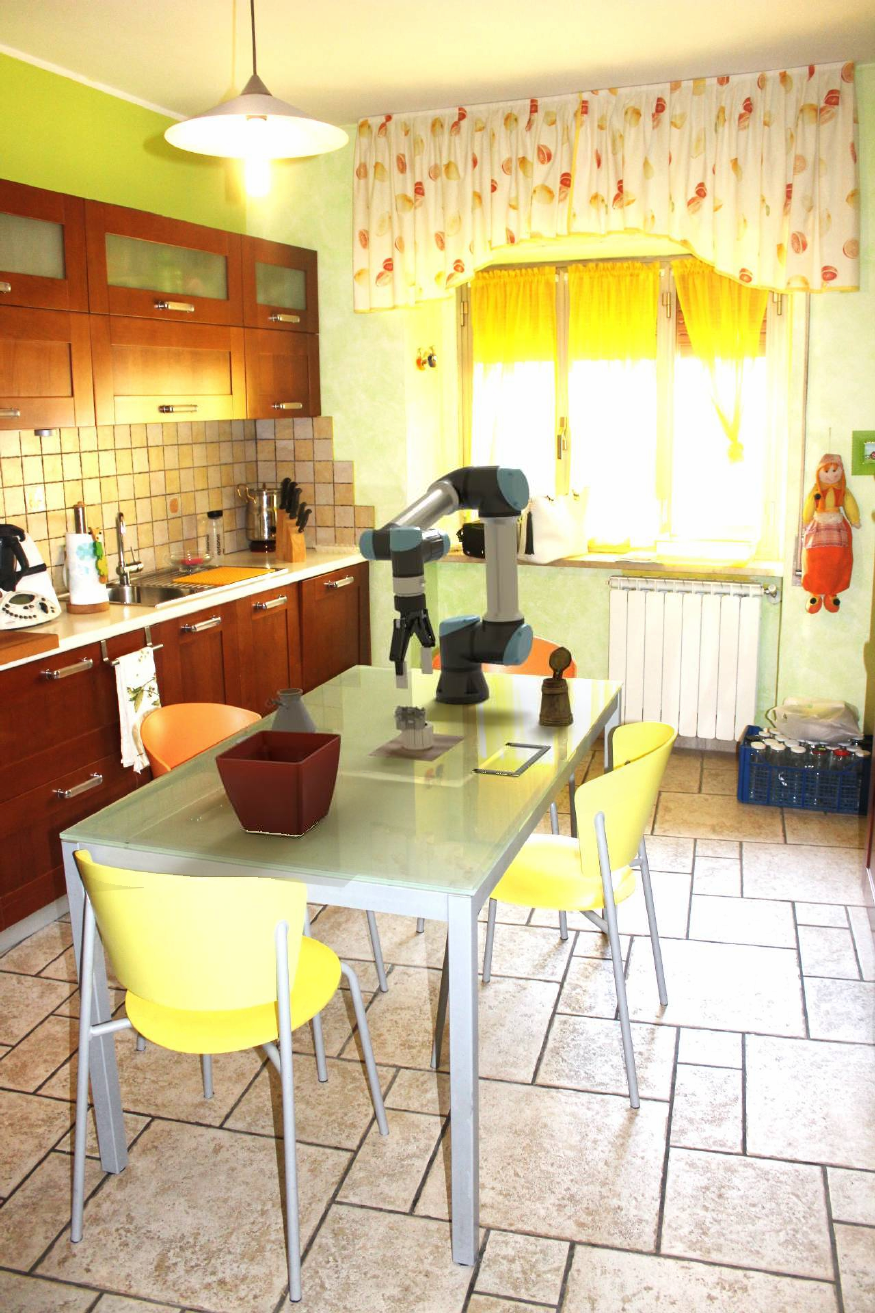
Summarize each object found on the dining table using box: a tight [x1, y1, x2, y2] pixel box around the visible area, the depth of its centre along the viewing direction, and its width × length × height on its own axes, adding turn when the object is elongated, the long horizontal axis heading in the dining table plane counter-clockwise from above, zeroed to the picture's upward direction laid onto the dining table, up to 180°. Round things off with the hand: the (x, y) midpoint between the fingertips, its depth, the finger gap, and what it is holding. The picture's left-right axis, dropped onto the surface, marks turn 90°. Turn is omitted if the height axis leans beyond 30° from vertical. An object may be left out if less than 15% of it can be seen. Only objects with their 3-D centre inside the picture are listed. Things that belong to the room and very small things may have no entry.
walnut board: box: [367, 733, 467, 762], centre depth 268 cm, size 20×17×1 cm
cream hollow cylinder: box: [401, 720, 434, 750], centre depth 267 cm, size 8×8×5 cm
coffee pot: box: [264, 687, 317, 733], centre depth 275 cm, size 21×12×15 cm, turn 169°
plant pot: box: [214, 729, 342, 835], centre depth 222 cm, size 19×19×17 cm
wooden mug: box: [538, 645, 574, 727], centre depth 286 cm, size 9×14×18 cm, turn 159°
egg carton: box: [393, 705, 427, 732], centre depth 266 cm, size 11×8×4 cm
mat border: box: [472, 741, 552, 776], centre depth 259 cm, size 22×19×1 cm
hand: (415, 681), depth 264 cm, fingers open, 13 cm apart
